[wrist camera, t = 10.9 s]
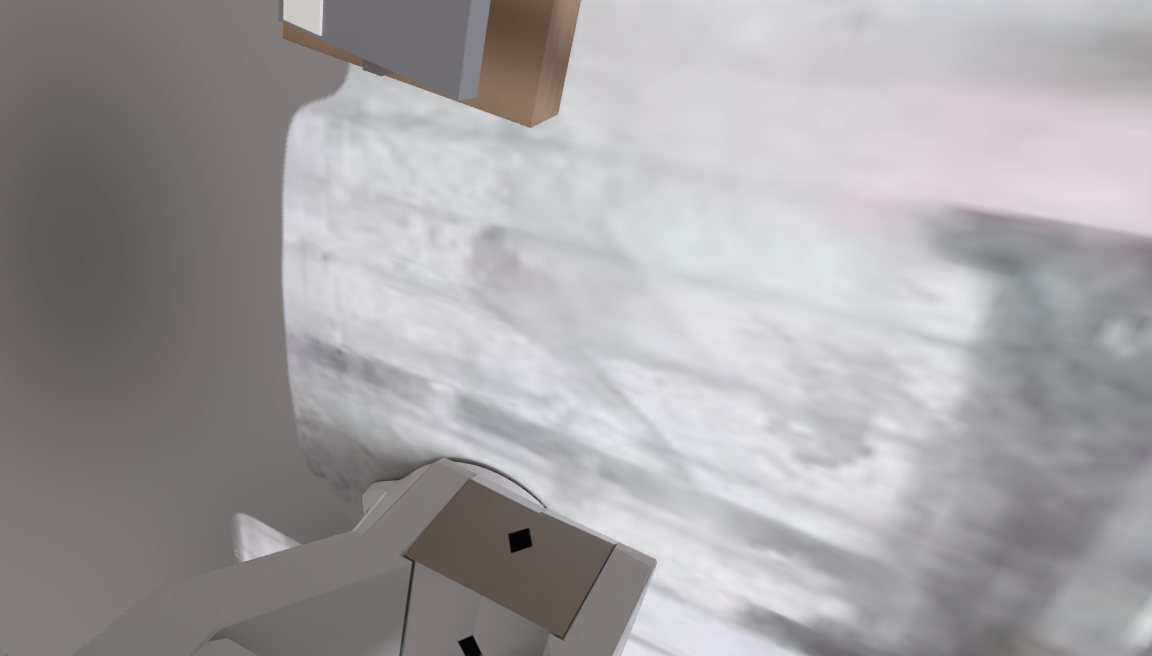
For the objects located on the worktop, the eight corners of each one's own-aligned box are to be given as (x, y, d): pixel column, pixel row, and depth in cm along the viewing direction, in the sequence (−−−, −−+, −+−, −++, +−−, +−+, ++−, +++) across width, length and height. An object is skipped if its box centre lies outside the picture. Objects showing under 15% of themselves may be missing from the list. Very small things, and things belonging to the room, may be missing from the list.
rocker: (476, 97, 34) (455, 101, 33) (299, 18, 38) (275, 20, 37) (491, -2, 32) (468, -1, 30) (301, -73, 36) (276, -74, 35)
